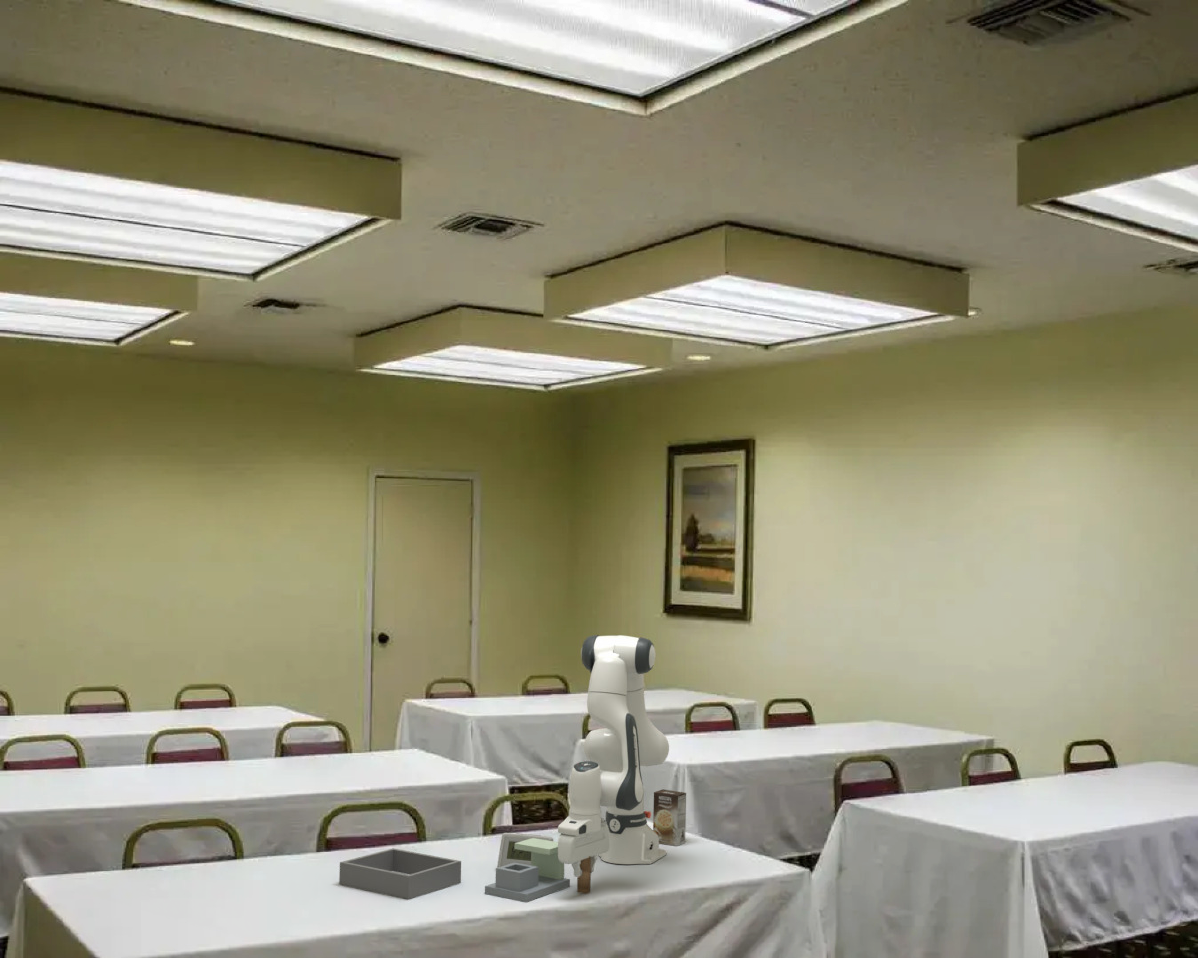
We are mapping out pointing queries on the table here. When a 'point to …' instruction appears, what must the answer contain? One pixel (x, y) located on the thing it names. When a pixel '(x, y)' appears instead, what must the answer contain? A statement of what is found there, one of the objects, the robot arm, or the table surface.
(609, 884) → the table surface
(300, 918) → the table surface
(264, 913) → the table surface
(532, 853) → the nook
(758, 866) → the table surface
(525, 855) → the digital clock
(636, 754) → the robot arm
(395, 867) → the frame
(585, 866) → the peg
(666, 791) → the coffee box
